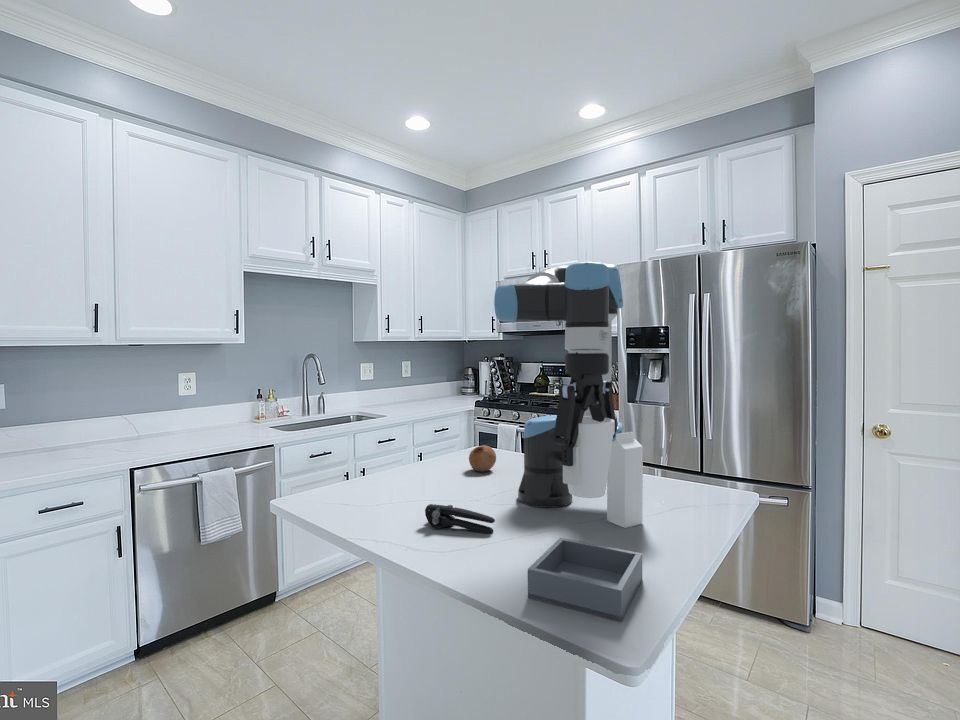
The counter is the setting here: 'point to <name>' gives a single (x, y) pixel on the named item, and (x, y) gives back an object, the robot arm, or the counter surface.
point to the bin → (586, 578)
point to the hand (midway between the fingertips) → (586, 478)
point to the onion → (482, 458)
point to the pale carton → (625, 481)
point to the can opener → (443, 517)
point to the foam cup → (593, 457)
